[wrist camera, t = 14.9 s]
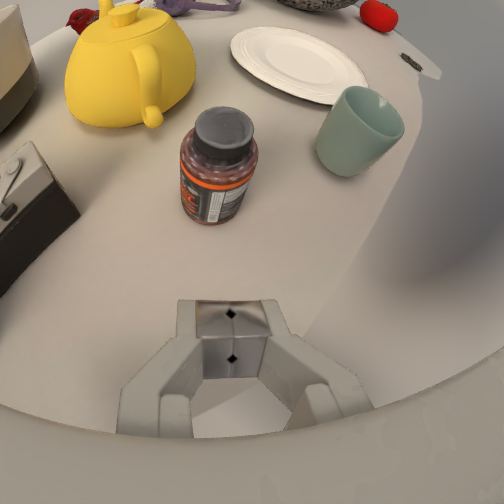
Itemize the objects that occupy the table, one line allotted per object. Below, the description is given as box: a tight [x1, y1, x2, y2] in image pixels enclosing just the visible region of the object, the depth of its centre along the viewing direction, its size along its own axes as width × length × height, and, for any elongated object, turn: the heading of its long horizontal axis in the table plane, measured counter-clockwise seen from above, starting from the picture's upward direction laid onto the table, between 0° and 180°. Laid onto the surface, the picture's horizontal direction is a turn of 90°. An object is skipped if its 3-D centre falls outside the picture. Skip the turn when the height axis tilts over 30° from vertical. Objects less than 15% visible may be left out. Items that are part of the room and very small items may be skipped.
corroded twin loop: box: [401, 53, 423, 71], centre depth 53 cm, size 5×8×1 cm, turn 52°
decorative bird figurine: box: [65, 0, 143, 35], centre depth 28 cm, size 3×18×10 cm, turn 145°
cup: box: [316, 86, 405, 177], centre depth 28 cm, size 8×8×10 cm
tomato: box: [360, 0, 398, 32], centre depth 53 cm, size 12×13×12 cm
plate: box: [230, 26, 368, 106], centre depth 37 cm, size 25×25×2 cm
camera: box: [0, 141, 80, 297], centre depth 17 cm, size 14×8×10 cm, turn 135°
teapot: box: [65, 0, 196, 128], centre depth 23 cm, size 25×18×14 cm
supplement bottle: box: [180, 106, 258, 225], centre depth 22 cm, size 6×6×11 cm
